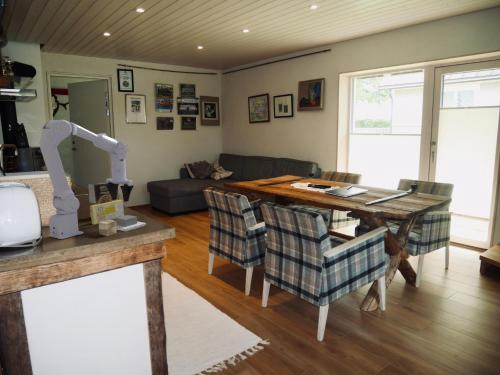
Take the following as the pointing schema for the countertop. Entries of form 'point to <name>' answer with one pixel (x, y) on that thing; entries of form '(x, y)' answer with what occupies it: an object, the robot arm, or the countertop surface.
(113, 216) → the candy box
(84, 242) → the countertop surface
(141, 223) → the white grey square pedestal
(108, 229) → the birch block
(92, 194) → the coffee box
